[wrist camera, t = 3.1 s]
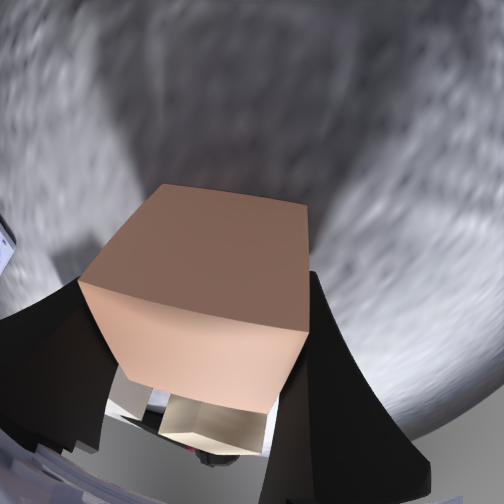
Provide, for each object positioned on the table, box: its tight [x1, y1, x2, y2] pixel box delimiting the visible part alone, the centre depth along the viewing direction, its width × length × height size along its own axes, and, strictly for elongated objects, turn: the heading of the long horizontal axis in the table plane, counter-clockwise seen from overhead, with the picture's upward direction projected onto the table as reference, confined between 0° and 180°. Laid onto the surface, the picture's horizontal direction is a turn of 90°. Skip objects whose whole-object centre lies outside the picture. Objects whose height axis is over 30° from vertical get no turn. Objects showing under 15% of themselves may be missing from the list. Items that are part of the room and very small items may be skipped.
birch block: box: [158, 394, 267, 455], centre depth 16 cm, size 5×5×5 cm
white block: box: [105, 365, 153, 421], centre depth 14 cm, size 5×5×5 cm
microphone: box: [121, 410, 240, 468], centre depth 26 cm, size 6×6×20 cm
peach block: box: [77, 184, 310, 414], centre depth 9 cm, size 5×5×5 cm
